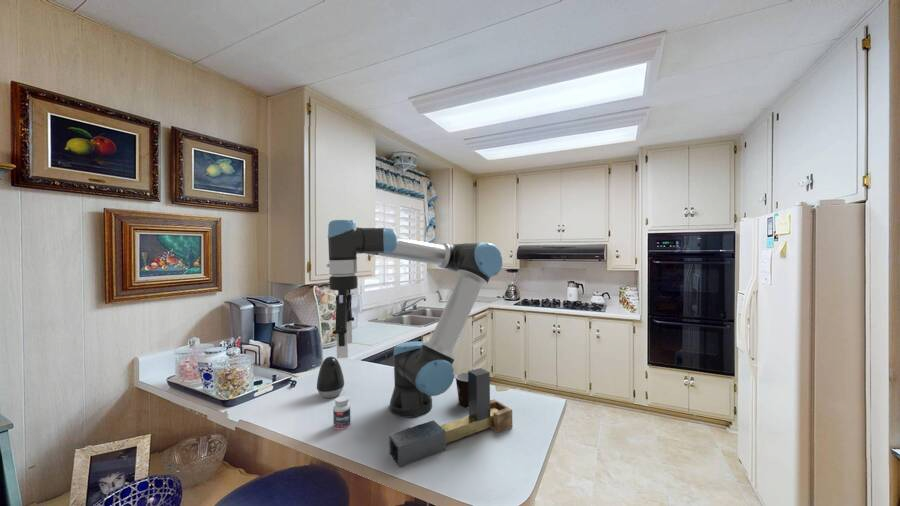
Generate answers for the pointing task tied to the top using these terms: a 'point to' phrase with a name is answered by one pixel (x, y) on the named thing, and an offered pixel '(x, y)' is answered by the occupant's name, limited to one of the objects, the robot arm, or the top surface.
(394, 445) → the sleeve
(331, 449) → the top surface
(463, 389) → the coffee mug
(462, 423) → the grey yellow upright-t piece
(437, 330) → the robot arm
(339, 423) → the pill bottle
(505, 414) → the open wooden box
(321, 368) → the black egg shape
